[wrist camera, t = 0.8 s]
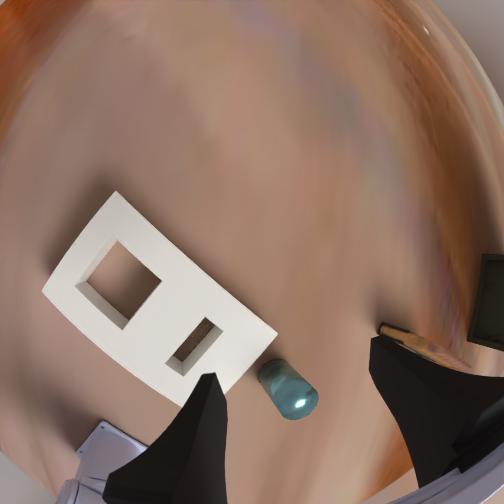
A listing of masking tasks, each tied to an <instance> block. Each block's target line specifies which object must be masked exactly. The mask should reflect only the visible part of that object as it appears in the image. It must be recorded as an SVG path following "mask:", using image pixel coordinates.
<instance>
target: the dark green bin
mask: <svg viewBox="0 0 504 504" xmlns="http://www.w3.org/2000/svg"><path fill="white" fill-rule="evenodd" d="M467 341H469V342H472V343H475V344H479V345H482V346H486V347H489V348H493V349H497V350H500V351H504V255H495V254H483V257H482V266H481V274H480V281H479V288H478V294H477V300H476V305H475V310H474V314H473V319H472V323H471V327H470V331H469V335H468V339H467Z"/></svg>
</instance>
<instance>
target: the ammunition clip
mask: <svg viewBox="0 0 504 504" xmlns="http://www.w3.org/2000/svg"><path fill="white" fill-rule="evenodd" d="M377 334H378V335H379V336H380V335H384V336H385V337H387V338H389V339H391V340H392V341H394V342H396V343H397V344H399V345H401V346H402V347H404V348H406V349H408V350H409V351H411V352H413V353H415V354H417V355H419V356H421V357H424V358H426V359H429V360H431V361H434V362H439V363H441V364H444V365H447V366H452V367H456V368H459V369H464V370H469V369H471V366H470V365H469V364H467V363H466V362H464V361H463V360H461V359H460V358H458V357H457V356H455V355H454V354H452V353H451V352H450V351H448V350H446V349H445V348H444V347H442V346H440V345H438V344H435V343H433V342H431V341H429V340H427V339H426V338H424V337H421V336H418V335H415V334H413V333H411V332H410V331H408V330H405V329H402V328H399V327H396V326H393V325H390V324H387V323H384V322H382V325H381V327H380V329H379V331H378V333H377Z"/></svg>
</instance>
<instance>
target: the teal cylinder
mask: <svg viewBox="0 0 504 504" xmlns="http://www.w3.org/2000/svg"><path fill="white" fill-rule="evenodd" d="M258 378H259V381H260V383H261V385H262V386H263V388H264V389H265V391H266V392H267V394H268V395H269V397H270V398H271V400H272V401H273V403H274V404H275V406H276V407H277V409H278V410H279V411H280V413H281V414H282V416H283V417H285V418H286V419H289V420H297V419H301V418H303V417H305V416H307V415H309V414H310V413H311V412H312V411H313V410H314V408H315V407H316V405H317V403H318V393H317V391H316V390H315V389H314V388H313V387H312V386H311V385H310V384H309V383H308V382H307V381H306V380H305V379H304V378H303V377H302V376H301V375H300V374H299V373H298V372H297V371H296V370H295V369H294V368H293V367H292V366H291V365H290V364H289V363H288V362H286V361H285V360H282V359H273V360H270V361H268V362H267V363H265V364H264V365H263V366H262V368H261V369H260V371H259V376H258Z"/></svg>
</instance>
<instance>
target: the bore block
mask: <svg viewBox="0 0 504 504" xmlns="http://www.w3.org/2000/svg"><path fill="white" fill-rule="evenodd" d="M117 240H118V241H119V242H120V243H121V244H122V245H123V246H124V247H126V248H127V249H128V250H129V251H130V252H131V253H132V254H133V255H134V256H135V257H136V258H137V259H138V260H139V261H141V262H142V263H143V264H144V265H145V266H146V267H147V268H148V269H149V270H150V271H152V272H153V273H154V274H155V275H156V276H157V277H158V278H159V279H161V282H160V283H159V284H158V285H157V286H156V288H155V289H154V290H153V291H152V292H151V294H150V295H149V296H148V297H147V299H146V300H145V301H144V302H143V304H142V305H141V306H140V307H139V308H138V310H137V311H136V312H135V313H134V315H133V316H132V317H131V319H130V320H128V319H126V318H125V317H124V316H123V315H122V314H121V313H120V312H118V311H117V310H116V309H115V308H114V307H113V306H112V305H111V304H109V303H108V302H107V301H106V300H105V299H104V298H103V297H102V296H101V295H100V294H99V293H98V292H97V291H96V290H94V289H93V288H92V287H91V286H90V285H89V284H88V283H87V282H86V281H87V279H88V278H89V277H90V275H91V274H92V273H93V271H94V270H95V269H96V267H97V266H98V265H99V263H100V262H101V261H102V259H103V258H104V257H105V256H106V254H107V253H108V252H109V250H110V249H111V248H112V247H113V245H114V244H115V243H116V242H117ZM42 292H43V293H44V294H45V296H46V297H47V298H48V299H49V300H50V301H51V302H52V303H53V304H54V305H55V306H56V307H57V308H58V309H59V310H60V311H61V312H62V313H63V314H64V315H65V316H66V317H67V318H68V319H69V320H70V321H71V322H72V323H73V324H74V325H75V326H76V327H77V328H78V329H79V330H80V331H81V332H82V333H83V334H85V335H86V336H87V337H88V338H89V339H90V340H91V341H92V342H94V343H95V344H96V345H97V346H98V347H99V348H101V349H102V350H103V351H104V352H105V353H107V354H108V355H109V356H110V357H111V358H113V359H114V360H115V361H116V362H118V363H119V364H120V365H121V366H123V367H124V368H125V369H127V370H128V371H129V372H131V373H132V374H133V375H135V376H136V377H137V378H139V379H140V380H142V381H143V382H144V383H146V384H147V385H149V386H150V387H152V388H153V389H155V390H156V391H157V392H159V393H160V394H162V395H164V396H165V397H167V398H168V399H170V400H171V401H173V402H174V403H176V404H178V405H179V406H181V407H183V406H184V404H185V402H186V401H187V399H188V398H189V396H190V394H191V393H192V391H193V389H194V387H195V386H196V384H197V382H198V380H199V378H200V376H201V375H202V374H205V373H213V372H216V375H217V378H218V380H219V383H220V386H221V388H222V391H223V393H224V394H225V393H226V392H227V391H228V390H229V389H230V388H231V387H232V386H233V385H234V384H235V382H236V381H237V380H238V379H239V378H240V377H241V376H242V375H243V374H244V373H245V372H246V370H247V369H248V368H249V367H250V366H251V365H252V364H253V363H254V362H255V360H256V359H257V358H258V357H259V356H260V355H261V354H262V352H263V351H264V350H265V349H266V348H267V347H268V345H269V344H270V343H271V342H272V341H273V340H274V338H275V337H276V336H277V335H278V333H277V332H276V331H275V330H273V329H272V328H271V327H270V326H269V325H267V324H266V323H265V322H264V321H262V320H261V319H260V318H259V317H258V316H256V315H255V314H254V313H253V312H251V311H250V310H249V309H248V308H247V307H245V306H244V305H243V304H242V303H241V302H239V301H238V300H237V299H236V298H235V297H233V296H232V295H231V294H230V293H229V292H228V291H226V290H225V289H224V288H223V287H222V286H220V285H219V284H218V283H217V282H216V281H215V280H213V279H212V278H211V277H210V276H209V275H208V274H207V273H205V272H204V271H203V270H202V269H201V268H200V267H198V266H197V265H196V264H195V263H194V262H193V261H192V260H191V259H189V258H188V257H187V256H186V255H185V254H184V253H183V252H182V251H180V250H179V249H178V248H177V247H176V246H175V245H174V244H173V243H172V242H170V241H169V240H168V239H167V238H166V237H165V236H164V235H163V234H162V233H161V232H160V231H158V230H157V229H156V228H155V227H154V226H153V225H152V224H151V223H150V222H149V221H148V220H147V219H146V218H144V217H143V216H142V215H141V214H140V213H139V212H138V211H137V210H136V209H135V208H134V207H133V206H132V205H131V204H130V203H129V202H128V201H127V200H126V199H125V198H123V197H122V196H121V195H120V194H119V193H118V192H117V191H115V192H114V193H113V194H112V195H111V197H110V198H109V199H108V200H107V201H106V202H105V204H104V205H103V206H102V207H101V208H100V209H99V211H98V212H97V213H96V214H95V216H94V217H93V218H92V219H91V221H90V222H89V223H88V224H87V226H86V227H85V228H84V230H83V231H82V232H81V234H80V235H79V236H78V238H77V239H76V240H75V242H74V243H73V244H72V246H71V247H70V248H69V250H68V251H67V253H66V254H65V256H64V257H63V258H62V260H61V261H60V263H59V264H58V266H57V267H56V269H55V270H54V272H53V273H52V275H51V277H50V278H49V280H48V281H47V283H46V284H45V286H44V288H43V289H42ZM204 317H206V318H207V319H209V320H210V321H211V322H212V323H214V324H215V326H214V327H213V328H212V329H211V330H210V331H209V333H208V334H207V335H206V336H205V337H204V338H203V339H202V341H201V342H200V343H199V344H198V345H197V346H196V348H195V349H194V350H193V351H192V352H191V353H190V354H189V356H188V357H187V358H186V359H185V360H184V361H183V362H181V361H180V360H178V359H177V358H176V357H174V356H173V354H174V352H175V351H176V350H177V349H178V348H179V347H180V345H181V344H182V343H183V342H184V341H185V340H186V338H187V337H188V336H189V335H190V334H191V333H192V331H193V330H194V329H195V328H196V327H197V326H198V324H199V323H200V322H201V321H202V320H203V319H204Z"/></svg>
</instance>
